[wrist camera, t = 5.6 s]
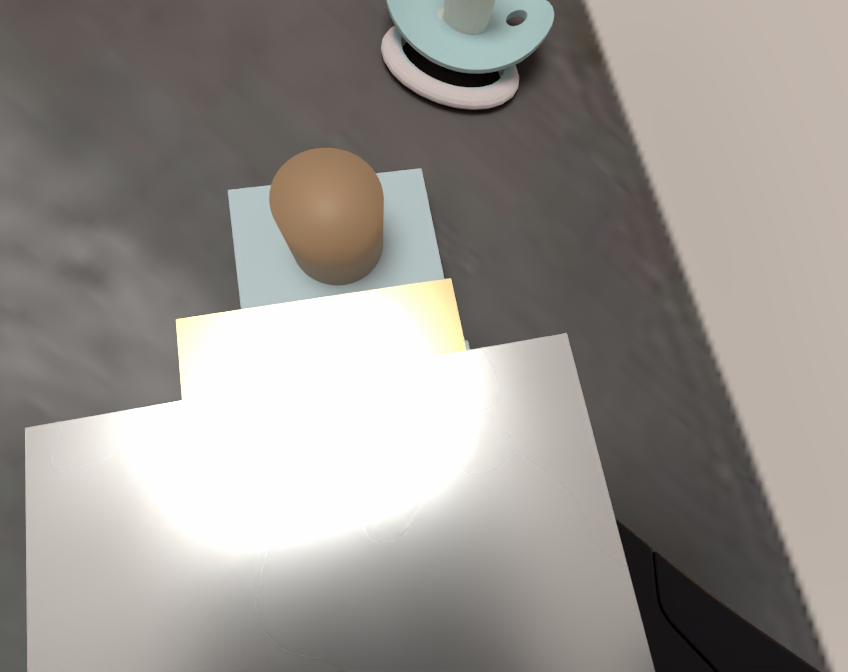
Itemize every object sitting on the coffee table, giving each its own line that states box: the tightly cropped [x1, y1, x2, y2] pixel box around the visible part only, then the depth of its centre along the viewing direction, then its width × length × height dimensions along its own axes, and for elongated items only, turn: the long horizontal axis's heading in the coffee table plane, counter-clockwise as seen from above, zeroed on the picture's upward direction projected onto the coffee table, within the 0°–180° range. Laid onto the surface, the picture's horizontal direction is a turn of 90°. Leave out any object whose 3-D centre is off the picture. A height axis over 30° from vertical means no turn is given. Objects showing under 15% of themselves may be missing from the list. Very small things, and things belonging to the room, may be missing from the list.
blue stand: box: [228, 148, 470, 351], centre depth 13 cm, size 22×7×5 cm, turn 11°
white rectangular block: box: [25, 278, 655, 672], centre depth 8 cm, size 6×4×10 cm
